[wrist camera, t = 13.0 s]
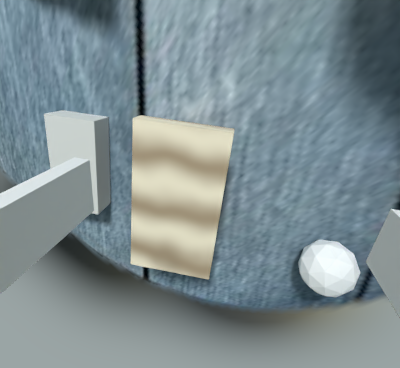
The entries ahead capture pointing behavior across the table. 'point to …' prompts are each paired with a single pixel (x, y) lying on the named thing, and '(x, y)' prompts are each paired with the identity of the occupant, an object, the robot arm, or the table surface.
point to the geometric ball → (328, 268)
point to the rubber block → (82, 148)
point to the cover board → (177, 193)
